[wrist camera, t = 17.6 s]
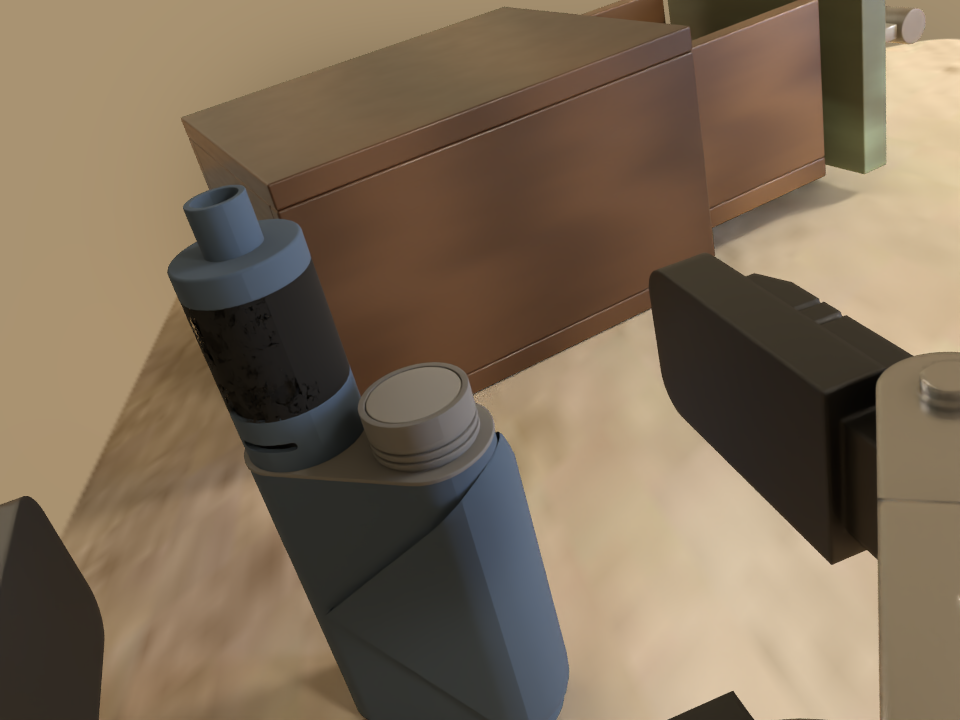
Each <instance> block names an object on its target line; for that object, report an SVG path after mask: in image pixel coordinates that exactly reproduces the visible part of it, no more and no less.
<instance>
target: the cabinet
mask: <svg viewBox="0 0 960 720" xmlns="http://www.w3.org/2000/svg"><path fill="white" fill-rule="evenodd" d="M691 50H692V40H691V30H690V27H689V26H683V25H673V24H664V23H654V22H645V21H635V20H625V19H616V18H606V17H597V16H587V15H577V14H568V13H558V12H549V11H539V10H529V9H520V8H510V7H502V8H499V9H496V10H494V11H490V12H488V13H485V14H482V15H479V16H476V17H473V18H470V19H467V20H464V21H461V22H459V23H455V24H452V25H449V26H447V27H444V28H441V29H438V30H435V31H432V32H429V33H426V34H423V35H421V36H417V37H414V38H412V39H409V40H406V41H403V42H400V43H397V44H394V45H391V46H388V47H385V48H382V49H380V50H376V51H374V52H371V53H368V54H365V55H362V56H359V57H356V58H353V59H350V60H348V61H344V62H341V63H339V64H336V65H333V66H330V67H327V68H324V69H321V70H318V71H315V72H312V73H309V74H307V75H304V76H301V77H298V78H295V79H292V80H289V81H286V82H283V83H280V84H277V85H274V86H271V87H269V88H266V89H263V90H260V91H257V92H254V93H251V94H248V95H245V96H242V97H240V98H236V99H234V100H231V101H228V102H225V103H222V104H219V105H216V106H213V107H210V108H207V109H205V110H201V111H199V112H196V113H193V114H190V115H187V116H184V117H182V118H181V120H182V122H183V125H184V128H185V130H186V132H187V135H188V137H190V138H189V140H190V143H191V145H192V148H193V150H194V153H195V155H196V158H197V160H198V163H199V165H200V168H201V170H202V173H203V175H204V178H205V180H206V183H207V185H208V188H209V190H211V189H214V188H218V187H222V186H227V185H242V186H244V187H245V189H246V191H247V194H248V197H249V199H250V202H251V205H252V207H253V210H254V212H255V215H256V218H257V220H266V219H286V220H290V221H293V222H295V223H297V224H298V225H299V226H300V227H301V229H302V232H303V235H304V238H305V241H306V243H307V246H308V249H309V252H310V256H311V258H312V260H313V263H314V266H315V269H316V272H317V275H318V277H319V280H320V283H321V286H322V289H323V292H324V294H325V297H326V300H327V303H328V306H329V309H330V311H331V314H332V317H333V320H334V324H335V325H336V328H337V331H338V334H339V337H340V340H341V342H342V345H343V348H344V351H345V354H346V357H347V359H348V362H349V365H350V368H351V371H352V374H353V376H354V379H355V382H356V385H357V388H358V390H359V393H360V396H362V395H363V393H364V392H365V391H366V390H367V389H368V388H369V387H370V386H371V385H372V384H373V383H374V382H376V381H377V380H379V379H380V378H382V377H383V376H385V375H387V374H389V373H391V372H393V371H396V370H398V369H401V368H404V367H407V366H411V365H415V364H420V363H429V362H440V363H447V364H452V365H454V366H457V367H459V368H460V369H462V370H463V371H464V372H465V373H466V375H467V377H468V379H469V383H470V386H471V390H472V394H474V393H476V392H478V391H480V390H482V389H484V388H486V387H488V386H490V385H492V384H494V383H496V382H499V381H501V380H503V379H505V378H507V377H509V376H511V375H513V374H515V373H517V372H519V371H521V370H523V369H525V368H527V367H530V366H532V365H534V364H536V363H538V362H540V361H542V360H544V359H546V358H548V357H550V356H552V355H554V354H556V353H559V352H561V351H563V350H565V349H567V348H569V347H571V346H573V345H575V344H577V343H579V342H581V341H583V340H585V339H587V338H590V337H592V336H594V335H596V334H598V333H600V332H602V331H604V330H606V329H608V328H610V327H612V326H614V325H616V324H618V323H621V322H623V321H625V320H627V319H629V318H631V317H633V316H635V315H637V314H639V313H641V312H643V311H645V310H647V309H649V308H652V307H651V301H650V294H649V278H650V275H651V273H652V272H653V271H655V270H657V269H660V268H663V267H666V266H668V265H671V264H674V263H677V262H679V261H682V260H685V259H688V258H691V257H693V256H696V255H699V254H702V253H709V254H711V255H713V256H715V252H714V243H713V234H712V225H711V215H710V206H709V197H708V188H707V179H706V170H705V160H704V151H703V142H702V133H701V124H700V115H699V105H698V96H697V87H696V78H695V69H694V60H693V53H692V51H691Z"/></svg>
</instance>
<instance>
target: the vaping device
mask: <svg viewBox="0 0 960 720" xmlns="http://www.w3.org/2000/svg"><path fill="white" fill-rule="evenodd" d="M183 209H184V212H185V214H186V217H187V219H188V221H189V224H190V226H191V228H192V230H193V233H194V236H195V238H196V240H197V242H195V243H194V244H192V245H190V246H189V247H187V248H186V249H184V250H183V251H182V252H180V253H179V254H178V255H177V256H176V257H175V258H174V259H173V260H172V262H171V263H170V265H169V267H168V272H167V273H168V276H169V278H170V281H171V283H172V285H173V287H174V290H175V292H176V294H177V296H178V299H179V301H180V303H181V305H182V307H183V308H184V309H183V310H184V312H185V314H186V317H187V319H188V321H189V323H190V326H191V328H192V330H193V332H194V329H195V330H196V331H197V332H194V335H195V336H196V339H197V337H198V339H197V341H198V344H199V346H200V348H201V350H202V353H203V354H204V357H205V359H206V362H207V364H208V366H209V368H210V371H211V373H212V375H213V377H214V380H215V382H216V384H217V386H218V389H219V391H220V393H221V395H222V398H223V400H224V402H225V404H226V407H227V409H228V411H229V413H230V416H231V418H232V420H233V422H234V425H235V427H236V429H237V431H238V434H239V436H240V438H241V440H242V443H243V445H244V447H245V452H244V459H245V463H246V465H247V467H248V468H249V469H250V470H251V473H252V475H253V477H254V479H255V482H256V484H257V486H258V488H259V491H260V493H261V495H262V497H263V500H264V502H265V504H266V506H267V508H268V511H269V513H270V515H271V517H272V520H273V522H274V524H275V526H276V529H277V531H278V533H279V535H280V537H281V540H282V542H283V544H284V546H285V548H286V550H287V553H288V555H289V557H290V559H291V561H292V563H293V566H294V568H295V570H296V572H297V575H298V577H299V579H300V581H301V584H302V586H303V588H304V590H305V593H306V595H307V597H308V599H309V601H310V604H311V606H312V608H313V610H314V613H315V615H316V617H317V619H318V622H319V624H320V626H321V628H322V630H323V633H324V635H325V637H326V639H327V642H328V644H329V646H330V648H331V651H332V653H333V655H334V657H335V660H336V662H337V664H338V666H339V668H340V671H341V673H342V675H343V677H344V680H345V682H346V684H347V686H348V689H349V691H350V693H351V695H352V698H353V700H354V702H355V704H356V706H357V709H358V711H359V713H360V714H361V715H362V716H363V717H364V718H366V719H368V720H556V719H557V717H558V715H559V713H560V711H561V709H562V705H563V701H564V695H565V693H566V690H567V684H568V679H569V665H568V658H567V652H566V649H565V645H564V641H563V637H562V633H561V630H560V626H559V622H558V618H557V614H556V610H555V607H554V603H553V599H552V595H551V591H550V588H549V584H548V580H547V576H546V572H545V569H544V565H543V561H542V557H541V553H540V550H539V546H538V542H537V538H536V534H535V530H534V527H533V523H532V519H531V515H530V511H529V508H528V504H527V500H526V496H525V492H524V489H523V485H522V481H521V477H520V473H519V470H518V466H517V462H516V458H515V454H514V452H513V451H512V449H511V447H510V445H509V443H508V442H507V440H506V439H505V438H504V436H503V435H502V434H501V433H500V432H496V433H495V424H494V420H493V417H492V415H491V413H490V412H489V411H488V410H487V409H486V408H485V407H484V406H482V405H480V404H478V403H475V401H474V397H473V394H472V390H471V386H470V383H469V379H468V377H467V375H466V373H465V372H464V371H463V370H462V369H460V368H459V367H457V366H454V365H452V364H447V363H440V362H429V363H420V364H415V365H411V366H407V367H404V368H401V369H398V370H396V371H393V372H391V373H389V374H387V375H385V376H383V377H382V378H380V379H379V380H377V381H376V382H374V383H373V384H372V385H371V386H370V387H369V388H368V389H367V390H366V391H365V392H364V393H363V395H362V396H360V393H359V390H358V388H357V385H356V382H355V379H354V376H353V374H352V371H351V368H350V365H349V362H348V359H347V357H346V354H345V351H344V348H343V345H342V342H341V340H340V337H339V334H338V331H337V328H336V325H335V324H334V320H333V317H332V314H331V311H330V309H329V306H328V303H327V300H326V297H325V294H324V292H323V289H322V286H321V283H320V280H319V277H318V275H317V272H316V269H315V266H314V263H313V260H312V258H311V256H310V252H309V249H308V246H307V243H306V241H305V238H304V235H303V232H302V229H301V227H300V226H299V225H298V224H297V223H295V222H293V221H290V220H286V219H266V220H257V218H256V215H255V212H254V210H253V207H252V205H251V202H250V199H249V197H248V194H247V191H246V189H245V187H244V186H242V185H227V186H222V187H218V188H214V189H211V190H208V191H206V192H203V193H201V194H199V195H197V196H195V197H193V198H191V199H190V200H189V201H187V202H186V203H185V204H184V206H183ZM188 311H189V312H188ZM190 317H191V318H190ZM190 319H192V320H191V322H192V323H193V324H194V326H195V328H194V329H193V327H192V323H191V322H190ZM196 328H197V329H198V330H197V329H196ZM196 333H197V334H198V335H199V336H198V335H196ZM199 342H201V343H199ZM201 345H202V346H201ZM225 398H226V399H225Z"/></svg>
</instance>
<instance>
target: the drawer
mask: <svg viewBox="0 0 960 720" xmlns="http://www.w3.org/2000/svg"><path fill="white" fill-rule="evenodd" d="M668 6H669V14H670V22H671V24H673V25H683V26H689V27H690V30H691V40H692V50H691V51H692V53H693V60H694V69H695V78H696V87H697V96H698V105H699V115H700V124H701V133H702V142H703V151H704V160H705V170H706V179H707V188H708V197H709V206H710V215H711V225H712V228H713V227H715V226H717V225H719V224H721V223H724V222H726V221H728V220H730V219H732V218H734V217H737V216H739V215H741V214H743V213H745V212H747V211H750V210H752V209H754V208H756V207H758V206H760V205H763V204H765V203H767V202H769V201H771V200H773V199H775V198H778V197H780V196H782V195H784V194H786V193H788V192H791V191H793V190H795V189H797V188H799V187H801V186H804V185H806V184H808V183H810V182H812V181H814V180H817V179H819V178H821V177H823V176H825V175H826V172H825V165H829V166H833V167H838V168H842V169H846V170H850V171H854V172H858V173H862V174H866V173H868V172H870V171H873V170H875V169H877V168H879V167H881V166H883V165H885V164H886V43H887V42H892V43H902V44H913V43H915V42H916V41H917V40H918V39H919V38H920V37H921V35H922V34H923V31H924V29H925V24H926V23H925V22H926V19H925V15H924V12H923V11H922V10H921V9H918V8H905V7H890V6H885V0H668ZM582 15H587V16H597V17H606V18H616V19H625V20H635V21H645V22H654V23H664V24H666V23H665V15H664V6H663V0H621V1H618V2H615V3H612V4H610V5H607V6H604V7H601V8H598V9H596V10H593V11H590V12H587V13H584V14H582Z"/></svg>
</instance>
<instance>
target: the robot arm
mask: <svg viewBox="0 0 960 720" xmlns="http://www.w3.org/2000/svg"><path fill="white" fill-rule="evenodd" d="M649 294H650V301H651V307H652V314H653V321H654V327H655V334H656V340H657V347H658V354H659V360H660V367H661V373H662V378H663V381H664V385H665V388H666V390H667V393H668V395H669V397H670V399H671V401H672V403H673V405H674V406H675V408H676V410H677V411H678V412H679V414H680V415H681V416H682V417H683V418H684V419H685V420H686V421H687V422H688V423H689V424H690V425H691V426H692V427H693V428H694V429H695V430H696V431H697V432H698V433H699V434H700V435H701V436H702V437H703V438H704V439H705V440H706V441H707V442H708V443H709V444H710V445H711V446H712V447H713V448H714V449H715V450H716V451H717V452H718V453H719V454H720V455H721V456H722V457H723V458H724V459H725V460H726V461H727V462H728V463H729V464H730V465H731V466H732V467H733V468H734V469H735V470H736V471H737V472H738V473H739V474H740V475H741V476H742V477H743V478H744V479H745V480H746V481H747V482H748V483H749V484H750V485H751V486H752V487H753V488H754V489H755V490H756V491H757V492H758V493H760V494H761V495H762V496H763V497H764V498H765V499H766V500H767V501H768V502H769V503H770V504H771V505H772V506H773V507H774V508H775V509H776V510H777V511H778V512H779V513H780V514H781V515H782V516H783V517H784V518H785V519H786V520H787V521H788V522H789V523H790V524H791V525H792V526H793V527H794V528H795V529H796V530H797V531H798V532H799V533H800V534H801V535H802V536H803V537H804V538H805V539H806V540H807V541H808V542H809V543H810V544H811V545H812V546H813V547H814V548H815V549H816V550H817V551H818V552H819V553H820V554H821V555H822V556H823V557H824V558H825V559H826V560H827V561H828V562H829V563H830V564H831V565H833V564H835V563H837V562H840V561H842V560H844V559H847V558H849V557H851V556H854V555H856V554H858V553H860V552H863V551H865V550H868V551H869V552H870V553H871V554H872V555H873V556H874V557H875V558H876V559H878V619H879V696H880V720H960V352H937V353H928V354H921V355H917V356H913V355H911V354H909V353H908V352H906V351H904V350H903V349H901V348H899V347H898V346H896V345H894V344H893V343H891V342H889V341H888V340H886V339H885V338H883V337H881V336H880V335H878V334H876V333H875V332H873V331H871V330H870V329H868V328H866V327H865V326H863V325H861V324H860V323H858V322H856V321H855V320H853V319H852V318H850V317H848V316H847V315H846V316H844V317H843V316H842V315H841V312H840V311H838V310H837V309H835V308H833V307H832V306H830V305H828V304H827V303H825V302H822V303H820V301H819V298H817V297H815V296H814V295H812V294H810V293H809V292H807V291H805V290H804V289H802V288H800V287H799V286H797V285H795V284H794V283H792V282H788V281H784V280H780V279H776V278H772V277H768V276H764V275H759V274H755V273H754V274H751V275H749V276H746V277H745V276H744V275H742V274H741V273H739V272H738V271H736V270H734V269H733V268H731V267H730V266H728V265H727V264H725V263H724V262H722V261H720V260H719V259H717V258H716V257H714V256H713V255H711V254H709V253H702V254H699V255H696V256H693V257H691V258H688V259H685V260H682V261H679V262H677V263H674V264H671V265H668V266H666V267H663V268H660V269H657V270H655V271H653V272H652V273H651V275H650V278H649ZM103 652H104V628H103V622H102V617H101V614H100V610H99V607H98V604H97V602H96V599H95V597H94V595H93V592H92V591H91V589H90V587H89V585H88V584H87V582H86V580H85V579H84V577H83V575H82V574H81V572H80V570H79V569H78V567H77V565H76V564H75V562H74V561H73V559H72V557H71V556H70V554H69V552H68V551H67V549H66V547H65V546H64V544H63V542H62V541H61V539H60V537H59V536H58V534H57V533H56V531H55V529H54V528H53V526H52V524H51V523H50V521H49V519H48V518H47V516H46V514H45V513H44V511H43V510H42V508H41V507H40V506H39V504H38V503H37V502H36V501H35V500H34V499H32V498H31V497H29V496H23V497H21V498H18V499H15V500H12V501H10V502H7V503H4V504H1V505H0V720H99V708H100V694H101V680H102V666H103ZM668 720H754V719H753V718H752V716H751V715H750V714H749V712H748V711H747V709H746V708H745V707H744V705H743V704H742V702H741V701H740V700H739V698H738V697H737V696H736V694H735V693H734V691H731V692H729V693H727V694H725V695H722V696H720V697H718V698H716V699H713V700H711V701H709V702H707V703H704V704H702V705H700V706H698V707H695V708H693V709H691V710H689V711H686V712H684V713H682V714H680V715H677V716H675V717H673V718H671V719H668ZM784 720H821V719H784Z"/></svg>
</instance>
